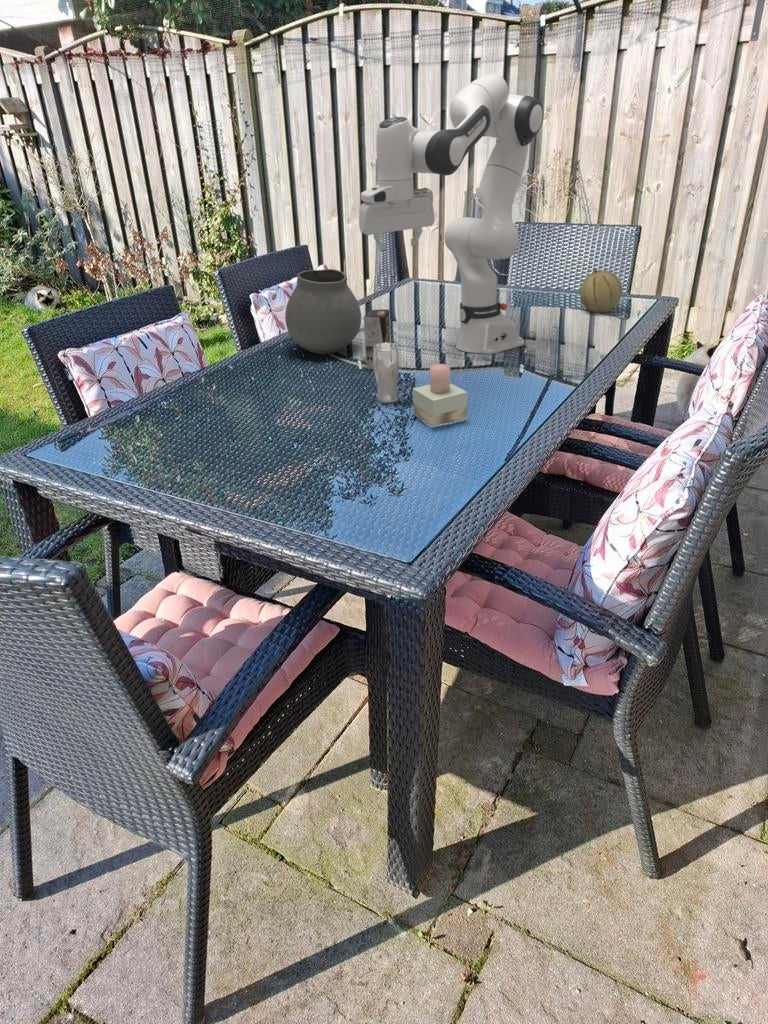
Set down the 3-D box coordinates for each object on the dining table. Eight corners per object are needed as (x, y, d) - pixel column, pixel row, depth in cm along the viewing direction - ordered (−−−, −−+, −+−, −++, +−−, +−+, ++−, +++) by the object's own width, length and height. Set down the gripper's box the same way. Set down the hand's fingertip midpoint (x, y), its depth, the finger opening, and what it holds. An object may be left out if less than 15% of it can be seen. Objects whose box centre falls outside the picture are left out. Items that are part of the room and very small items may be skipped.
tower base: (448, 408, 186) (448, 394, 184) (466, 422, 178) (466, 407, 176) (414, 416, 183) (413, 401, 181) (431, 430, 175) (430, 415, 173)
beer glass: (403, 395, 194) (402, 343, 187) (395, 405, 189) (393, 351, 181) (380, 393, 196) (377, 341, 189) (371, 403, 191) (368, 349, 183)
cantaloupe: (624, 316, 250) (630, 273, 243) (583, 318, 251) (587, 275, 243) (613, 305, 263) (618, 264, 255) (574, 307, 264) (577, 266, 256)
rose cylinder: (443, 385, 179) (443, 362, 176) (453, 391, 175) (453, 368, 172) (426, 388, 177) (426, 366, 174) (436, 395, 174) (436, 372, 170)
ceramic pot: (318, 368, 217) (310, 286, 205) (275, 351, 233) (265, 274, 221) (377, 349, 231) (374, 271, 218) (333, 335, 247) (326, 261, 234)
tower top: (445, 394, 184) (445, 380, 182) (467, 407, 176) (467, 392, 174) (412, 403, 180) (412, 388, 178) (433, 415, 173) (433, 400, 170)
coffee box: (386, 369, 213) (384, 317, 205) (366, 369, 214) (362, 316, 206) (392, 360, 221) (390, 308, 213) (372, 359, 222) (369, 308, 214)
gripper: (427, 185, 182) (428, 241, 190) (354, 194, 176) (358, 251, 183) (438, 187, 177) (439, 245, 185) (364, 197, 171) (368, 255, 178)
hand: (398, 248), depth 184 cm, fingers open, 8 cm apart
